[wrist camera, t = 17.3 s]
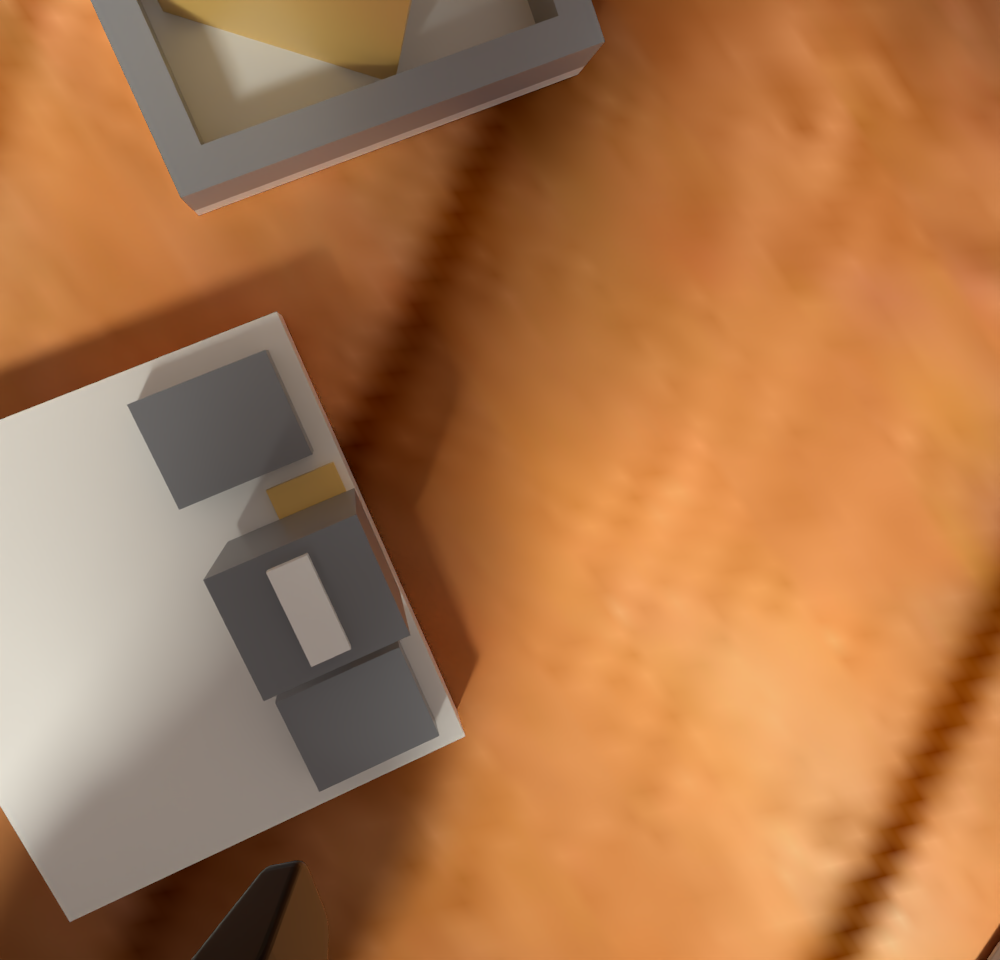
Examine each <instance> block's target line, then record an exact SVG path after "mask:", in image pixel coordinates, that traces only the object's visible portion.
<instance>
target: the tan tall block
mask: <svg viewBox="0 0 1000 960" xmlns="http://www.w3.org/2000/svg"><path fill="white" fill-rule="evenodd" d="M157 1H158V3H159V4H160V6H161V8H162V10H163V12H167V13H170V14H173V15H176V16H180V17H183V18H186V19H189V20H192V21H196V22H199V23H202V24H205V25H208V26H212V27H215V28H218V29H221V30H225V31H228V32H231V33H234V34H237V35H241V36H244V37H247V38H250V39H253V40H257V41H260V42H263V43H266V44H270V45H273V46H276V47H279V48H282V49H286V50H289V51H292V52H295V53H298V54H302V55H305V56H308V57H311V58H315V59H318V60H321V61H324V62H327V63H331V64H334V65H337V66H340V67H344V68H347V69H350V70H353V71H356V72H360V73H363V74H366V75H369V76H372V77H376V78H379V79H385V78H388V77H391V76H393V75H396V74H397V69H398V65H399V60H400V55H401V50H402V46H403V41H404V36H405V31H406V26H407V22H408V17H409V12H410V7H411V3H412V0H157Z"/></svg>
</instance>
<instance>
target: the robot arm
mask: <svg viewBox="0 0 1000 960" xmlns="http://www.w3.org/2000/svg"><path fill="white" fill-rule="evenodd" d="M328 942H329V929H328V920H327V916H326V912H325V909H324V907H323V904H322V902H321V899H320V896H319V894H318V891H317V889H316V886H315V883H314V881H313V878H312V876H311V873H310V871H309V869H308V867H307V865H306V864H305V863H304V862H302V861H292V862H286V863H281V864H276V865H271V866H268V867H266V868H265V869H264V870H263V871H262V872H261V873H260V874H259V875H258V876H257V878H256V879H255V880H254V881H253V883H252V884H251V885H250V886H249V888H248V889H247V890H246V891H245V893H244V894H243V895H242V896H241V898H240V899H239V900H238V901H237V903H236V904H235V905H234V907H233V908H232V909H231V910H230V912H229V913H228V914H227V915H226V917H225V918H224V919H223V920H222V922H221V923H220V924H219V925H218V927H217V928H216V929H215V930H214V932H213V933H212V934H211V935H210V937H209V938H208V939H207V940H206V942H205V943H204V944H203V945H202V947H201V948H200V949H199V951H198V952H197V953H196V954H195V956H194V957H193V958H192V959H191V960H328Z"/></svg>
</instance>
